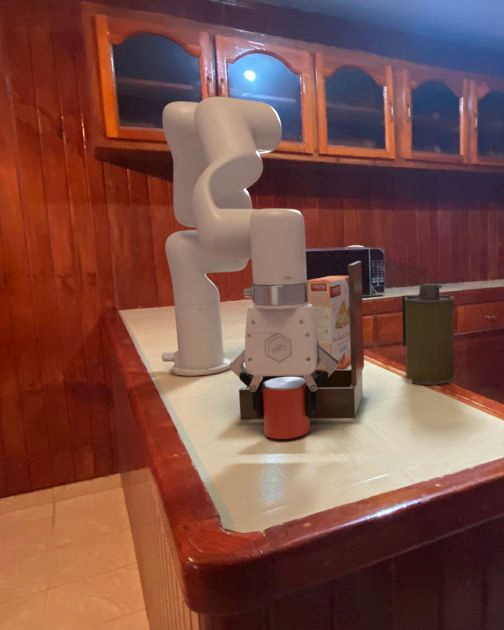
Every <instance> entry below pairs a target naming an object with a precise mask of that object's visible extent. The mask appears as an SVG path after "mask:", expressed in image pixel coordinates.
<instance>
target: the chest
mask: <svg viewBox="0 0 504 630" xmlns="http://www.w3.org/2000/svg"><path fill="white" fill-rule="evenodd" d="M323 370H324V369H315V372H316V374H317V376H318V375H319V374H320V373H321V372H322V371H323ZM279 377H300V378H303V376H266V377H265V379H264V381H263V384H264V382H266V381H268V380H270V379H274V378H279ZM363 389H364V388H363V372H362V373H361V375H360V378H359V380H358V383H357V385H356V386H352V379H351V368H342V369H335V370H334V371H333V372H332V374H331V375H330V376H329V377H328V378H327V379H326V380H325V381H324V382H323V383H322V384H321V385H320V386H319V388H318V397H319V408H318V410H315V413H314V415H313V416H312V418H309V420H332V419H333V420H334V419H335V420H336V419H338V420H339V419H342V420H343V419H344V420H345V419H346V420H347V419H356V417H357V414H358V410H359V408H360V405H361V402H362V398H363V395H364V394H363V392H364V391H363ZM238 397H239V413H240V420H241V421H243V420H244V421H247V420H248V421H249V420H250V421H251V420H252V421H254V420H261V421H262V420H264V416H263V417H261V418H257V413H256V411H254V410H253V396H252V392H251V391H250V390H249V387H248V386H247V385H245V384H243V386H242V387H240V388H239V389H238Z"/></svg>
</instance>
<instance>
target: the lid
mask: <svg viewBox="0 0 504 630" xmlns="http://www.w3.org/2000/svg"><path fill="white" fill-rule="evenodd" d="M362 271H363V270H362V260H357V261H355V262H352V263H350V264H348V265H347V273H348V275H347V276H348V279H349V312H350V346H351V362H350V369H351V379H352V386H356V385H357V383H358V380H359V378H360V375H361V373H362V374H363V370H364V367H365V352H364V351H365V348H364V347H365V346H364V311H363V310H364V309H363V274H362Z"/></svg>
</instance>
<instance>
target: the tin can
mask: <svg viewBox="0 0 504 630" xmlns="http://www.w3.org/2000/svg"><path fill="white" fill-rule="evenodd" d="M307 390H308V385H307V384H306V382H305V380H304V378H300V377H279V378H274V379H270V380H268V381H266V382H264V384H263V385H262V395H263V413H264V419H263V428H264V429H263V430H264V431H263V432H264V435H265V436H266V437H268V438H269V439H270V438H271V439H276V440H286V439H287V440H289V439H294V438H295V439H296V438H299V437H301V436H304V435H306V434H307V433H308V432H310V430H311V426H310V425H311V421H310V420H311V419H309V418H308V417H307V412H306V391H307Z"/></svg>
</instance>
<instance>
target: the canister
mask: <svg viewBox="0 0 504 630" xmlns="http://www.w3.org/2000/svg"><path fill="white" fill-rule="evenodd" d="M440 288H441V289H442V288H443V285H442V284H439V283H424V284H420V287H419V291H418V294H404V295H402V297H401V301H402V302H401V303H402V304H401V307H402V309H401V310H402V311H401V313H402V348H405V363H406V364H405V366H406V367H405V368H406V369H405V370H406V371H405V372H406V377H407V378H408V379H410V380H411V381H412V384H414V385H421V386H440V385H445V384H449V383H451V382H453V381H454V380H455V378H456V377H455V375H454V373H455V372H454V369H455V368H454V367H455V366H454V365H455V364H454V363H455V362H454V361H455V356H454V355H455V354H454V353H455V349H454V348H455V347H454V345H455V343H454V342H455V341H454V338H455V336H454V335H455V329H454V328H455V327H454V326H455V324H454V323H455V320H454V319H455V317H454V316H455V312H454V311H455V307H454V306H455V305H454V304H455V297H454V296H453V295H448V294H440Z"/></svg>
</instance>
